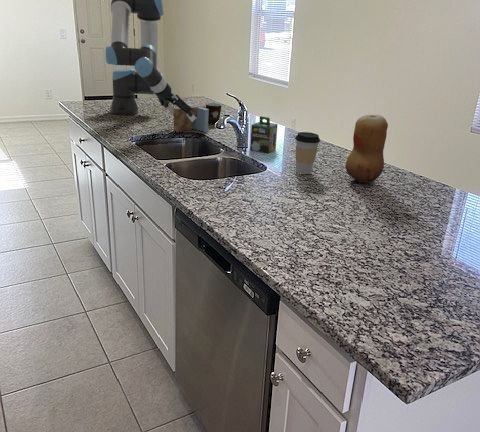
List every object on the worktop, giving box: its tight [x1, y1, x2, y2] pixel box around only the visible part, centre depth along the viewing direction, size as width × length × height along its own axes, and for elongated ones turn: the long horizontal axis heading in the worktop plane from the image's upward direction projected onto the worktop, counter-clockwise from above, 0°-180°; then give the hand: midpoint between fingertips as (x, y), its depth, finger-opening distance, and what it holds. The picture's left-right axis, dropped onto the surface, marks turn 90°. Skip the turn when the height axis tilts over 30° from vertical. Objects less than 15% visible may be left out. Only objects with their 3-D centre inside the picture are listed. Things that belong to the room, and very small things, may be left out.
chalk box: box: [249, 116, 278, 154], centre depth 203 cm, size 9×9×15 cm
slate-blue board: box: [186, 103, 209, 133], centre depth 233 cm, size 16×2×11 cm, turn 47°
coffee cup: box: [294, 131, 321, 175], centre depth 176 cm, size 9×9×15 cm
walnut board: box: [173, 105, 206, 133], centre depth 230 cm, size 18×2×11 cm, turn 137°
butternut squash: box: [345, 114, 389, 183], centre depth 169 cm, size 14×13×25 cm
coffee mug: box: [205, 102, 223, 125], centre depth 248 cm, size 12×9×10 cm
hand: (184, 117), depth 227 cm, fingers open, 13 cm apart
